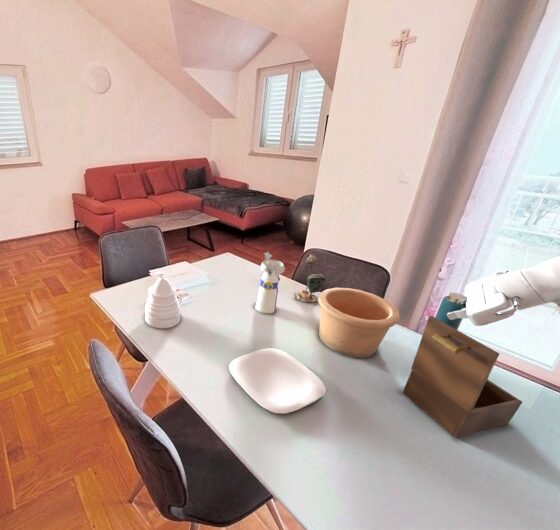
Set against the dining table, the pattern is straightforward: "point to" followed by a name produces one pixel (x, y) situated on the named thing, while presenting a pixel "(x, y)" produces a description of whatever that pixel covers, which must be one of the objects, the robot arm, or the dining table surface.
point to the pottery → (354, 320)
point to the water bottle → (268, 285)
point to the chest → (458, 422)
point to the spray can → (451, 308)
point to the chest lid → (453, 363)
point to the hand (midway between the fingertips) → (448, 311)
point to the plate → (276, 380)
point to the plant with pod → (312, 284)
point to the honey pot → (162, 304)
